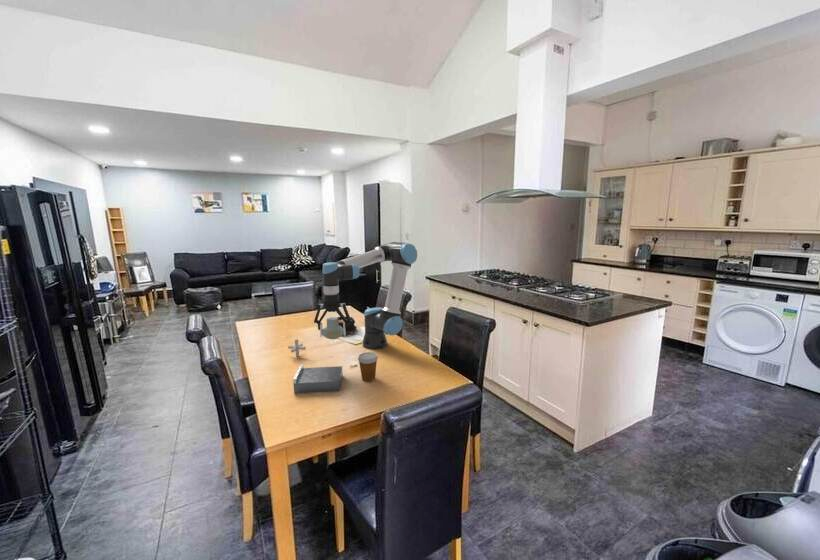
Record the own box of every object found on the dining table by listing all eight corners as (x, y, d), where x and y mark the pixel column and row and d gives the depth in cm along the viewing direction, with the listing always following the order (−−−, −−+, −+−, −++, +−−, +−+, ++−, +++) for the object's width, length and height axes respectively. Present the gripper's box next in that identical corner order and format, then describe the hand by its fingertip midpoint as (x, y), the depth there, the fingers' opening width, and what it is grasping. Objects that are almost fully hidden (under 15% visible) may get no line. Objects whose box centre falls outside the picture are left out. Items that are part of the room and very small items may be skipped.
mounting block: (342, 375, 174) (342, 362, 173) (339, 391, 158) (338, 377, 157) (301, 377, 172) (300, 364, 171) (294, 393, 156) (293, 379, 155)
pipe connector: (301, 360, 193) (300, 343, 191) (284, 358, 195) (283, 341, 193) (309, 353, 203) (308, 337, 201) (294, 352, 205) (292, 335, 203)
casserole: (325, 328, 248) (324, 316, 247) (350, 324, 257) (349, 313, 256) (335, 338, 227) (334, 326, 225) (362, 334, 235) (361, 322, 234)
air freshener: (322, 341, 173) (321, 321, 171) (322, 335, 181) (321, 317, 179) (344, 339, 176) (344, 320, 174) (343, 333, 184) (342, 315, 182)
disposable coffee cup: (370, 385, 164) (369, 361, 162) (354, 380, 169) (353, 357, 167) (382, 377, 172) (381, 354, 170) (367, 372, 177) (366, 350, 174)
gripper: (306, 295, 170) (308, 338, 174) (354, 294, 172) (355, 337, 176) (309, 292, 177) (311, 333, 181) (355, 291, 179) (356, 332, 183)
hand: (333, 335), depth 178 cm, fingers closed on air freshener, 11 cm apart
